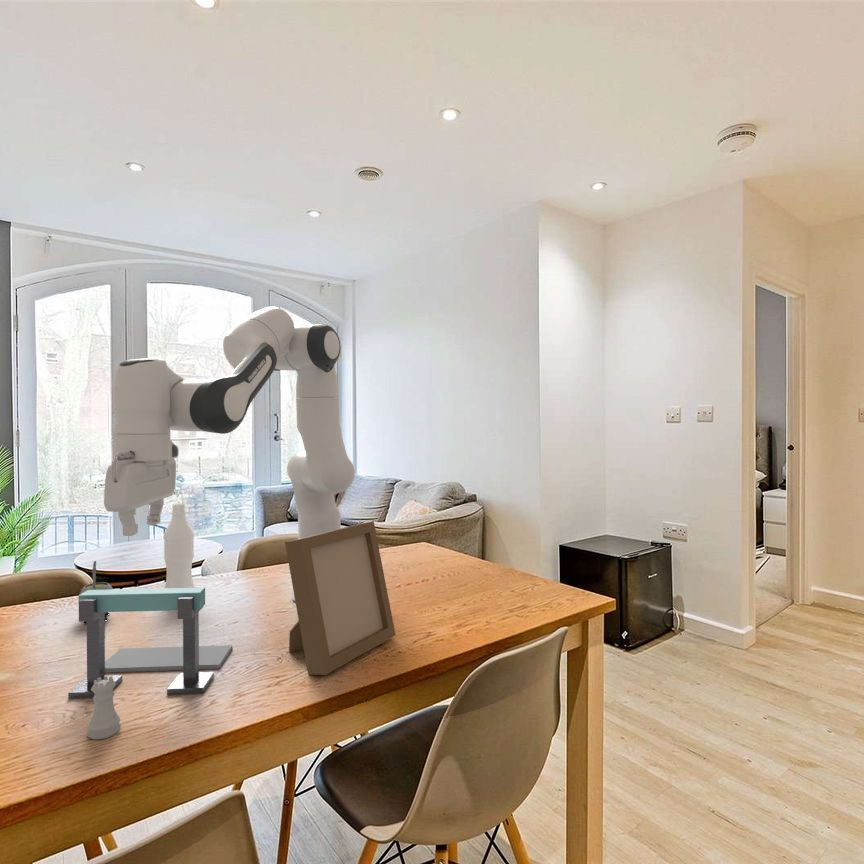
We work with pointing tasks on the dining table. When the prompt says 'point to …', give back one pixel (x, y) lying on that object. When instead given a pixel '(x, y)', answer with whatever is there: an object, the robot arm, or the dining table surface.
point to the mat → (164, 658)
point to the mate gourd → (96, 585)
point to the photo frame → (338, 596)
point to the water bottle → (179, 550)
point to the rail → (143, 599)
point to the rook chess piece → (103, 710)
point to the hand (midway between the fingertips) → (142, 529)
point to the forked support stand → (183, 683)
